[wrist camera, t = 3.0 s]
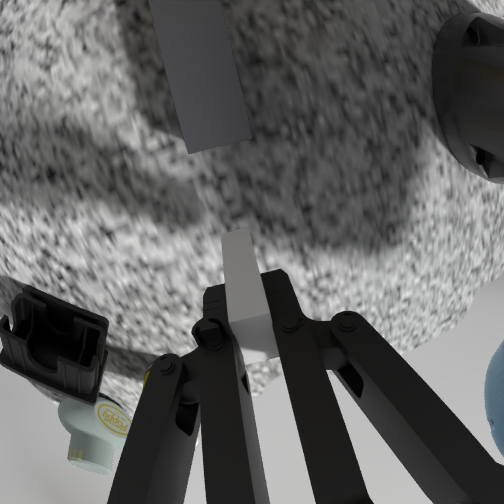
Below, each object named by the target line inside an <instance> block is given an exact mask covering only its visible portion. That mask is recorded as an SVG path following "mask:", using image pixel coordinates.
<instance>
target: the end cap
mask: <svg viewBox="0 0 504 504" xmlns="http://www.w3.org/2000/svg"><path fill="white" fill-rule="evenodd" d="M11 309H12V315H13V321H14V324H13V328H12V331H11V329H10V324H9V319H8V316H6V315H4V316H3V318H1V319H0V337H1V341H2V345H3V349H2V351H1V353H0V364H1V365H2V366H3V367H5V368H7V369H9V370H11V371H12V372H14V373H16V374H18V375H20V376H22V377H24V378H26V379H28V380H30V381H32V382H34V383H36V384H39V385H41V386H43V387H45V388H47V389H50V390H52V391H54V392H57V393H59V394H62V395H64V396H67V397H69V398H72V399H74V400H77V401H80V402H82V403H85V404H88V405H91V406H95V405H96V403H97V399H98V395H99V391H100V386H101V382H102V378H103V373H104V368H105V364H106V359H107V354H108V352H107V350H105V344H106V337H107V332H108V327H109V321H108V319H107V318H105V317H103V316H100V315H97V314H95V313H92V312H90V311H87V310H85V309H82V308H80V307H77V306H75V305H72V304H70V303H68V302H65V301H63V300H61V299H58V298H56V297H54V296H51V295H49V294H47V293H45V292H43V291H40V290H38V289H36V288H34V287H32V286H30V285H26V286H25V288H24V289H23V293H20V294H18V295H17V296H16V297H15V299H14V300H12V302H11Z"/></svg>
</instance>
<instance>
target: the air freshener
mask: <svg viewBox="0 0 504 504" xmlns="http://www.w3.org/2000/svg"><path fill="white" fill-rule="evenodd" d="M58 415H59V418H60V421H61V423H62V424H63V426H64V427H65V429H66V430H67V431H68V432H69V433H70V434H71V440H70V445H69V452H68V460H69V462H71V463H72V464H73V465H76V466H77V467H80V468H82V469H85V470H88V471H91V472H95V473H99V474H110V473H112V467H113V458H114V450H115V448H120V447H123V446H124V444H125V441H126V438H127V435H128V432H129V429H130V426H131V423H132V419H131V418H130V416H129V415H128V414H127V413H126V412H125V411H124V410H123V409H122V408H120V407H119V406H118V405H117V404H116V403H114V402H113V401H111V400H109V399H106V398H103V397H99V396H98V399H97V403H96V405H95V406H91V405H88V404H85V403H82V402H80V401H77V400H74V399H72V398H69V397H66V398H64V399H63V400H62V401H61V402H60V404H59V407H58Z"/></svg>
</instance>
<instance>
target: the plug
mask: <svg viewBox="0 0 504 504" xmlns="http://www.w3.org/2000/svg"><path fill="white" fill-rule="evenodd" d="M148 2H149V6H150V10H151V15H152V19H153V23H154V27H155V32H156V36H157V40H158V44H159V48H160V52H161V56H162V60H163V64H164V68H165V71H166V75H167V79H168V83H169V87H170V90H171V94H172V98H173V102H174V105H175V109H176V112H177V116H178V120H179V123H180V127H181V130H182V134H183V137H184V141H185V144H186V148H187V151H188V154H192V153H196V152H199V151H203V150H206V149H210V148H214V147H218V146H222V145H226V144H230V143H234V142H238V141H243V140H247V139H252V138H253V137H252V133H251V128H250V124H249V119H248V115H247V111H246V106H245V102H244V98H243V93H242V89H241V85H240V81H239V76H238V72H237V68H236V64H235V60H234V56H233V52H232V48H231V44H230V40H229V36H228V32H227V28H226V24H225V20H224V16H223V12H222V8H221V5H220V1H219V0H148Z"/></svg>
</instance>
